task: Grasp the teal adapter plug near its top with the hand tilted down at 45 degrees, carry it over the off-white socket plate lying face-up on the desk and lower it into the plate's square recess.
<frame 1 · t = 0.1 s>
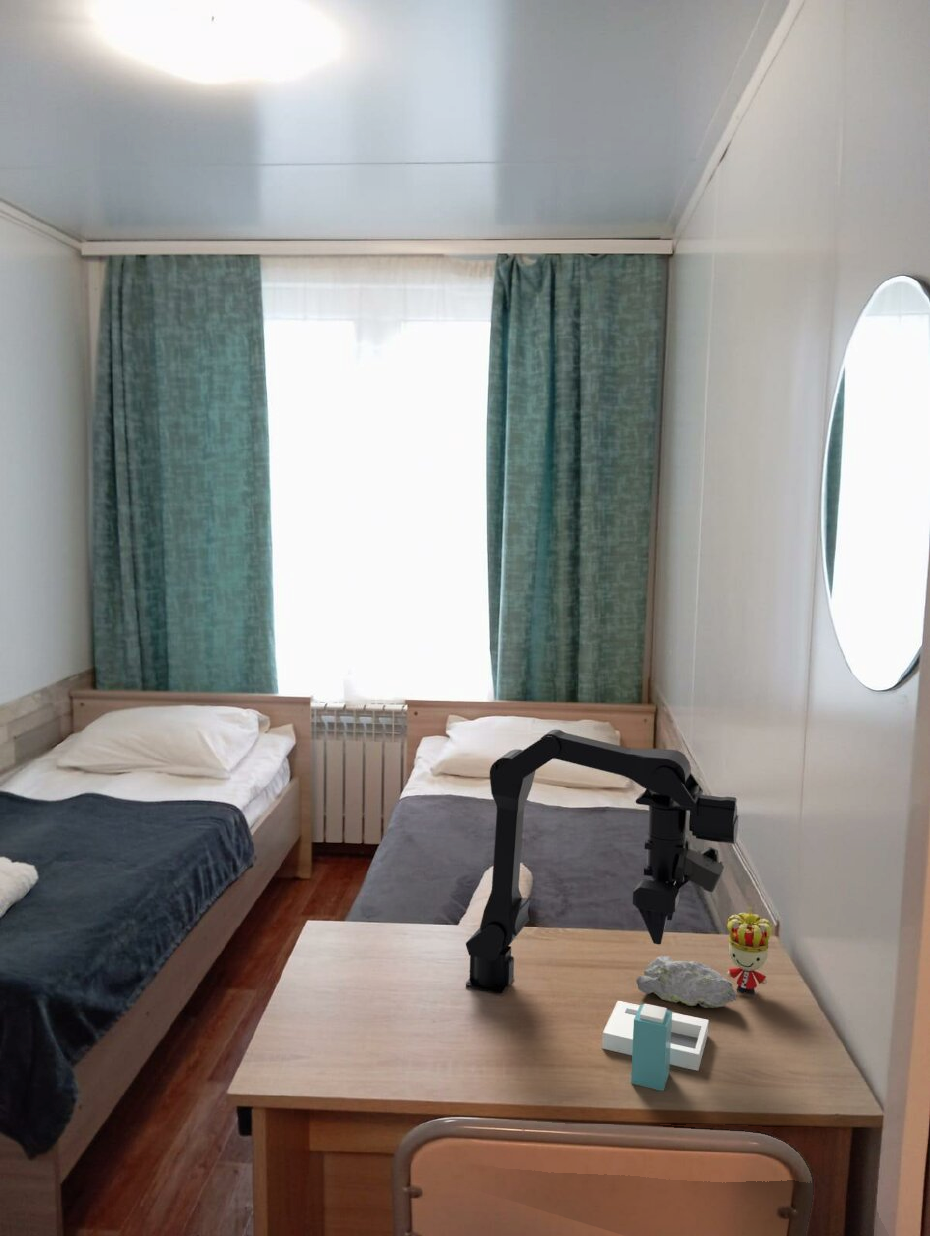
hand: (662, 931, 148), 15 cm above the table, tool pointing down, fingers open, 9 cm apart
socket plate: (655, 1041, 143), on the table
toy: (745, 992, 159), on the table
rock: (684, 1001, 156), on the table
plug: (650, 1078, 134), on the table
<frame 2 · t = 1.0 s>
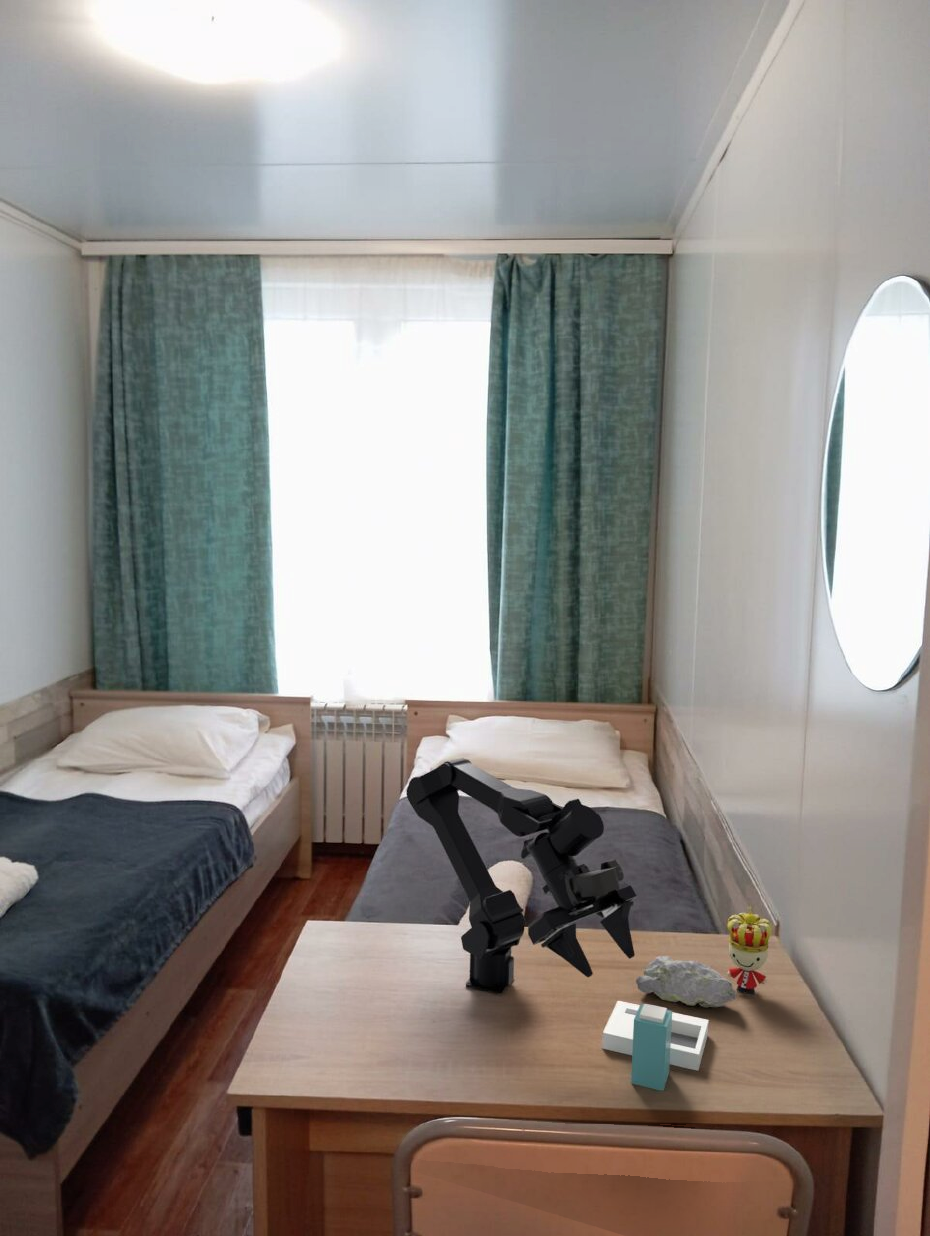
hand: (611, 966, 139), 13 cm above the table, tool tilted 45°, fingers open, 9 cm apart
nothing on the table moved.
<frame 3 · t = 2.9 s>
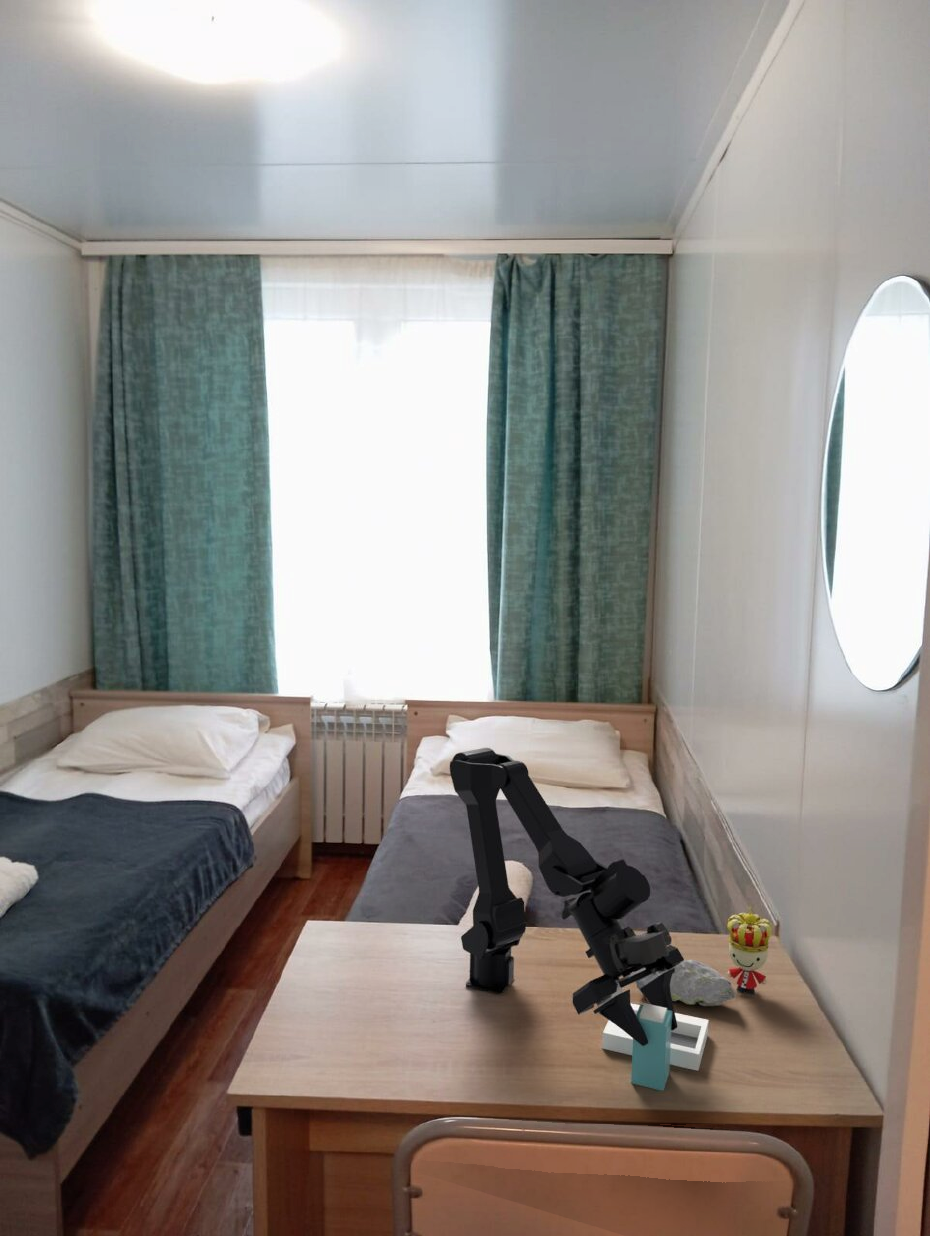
hand: (660, 1036, 132), 7 cm above the table, tool tilted 45°, fingers closed on plug, 6 cm apart
plug: (650, 1078, 134), on the table, touching gripper
everything else where it was.
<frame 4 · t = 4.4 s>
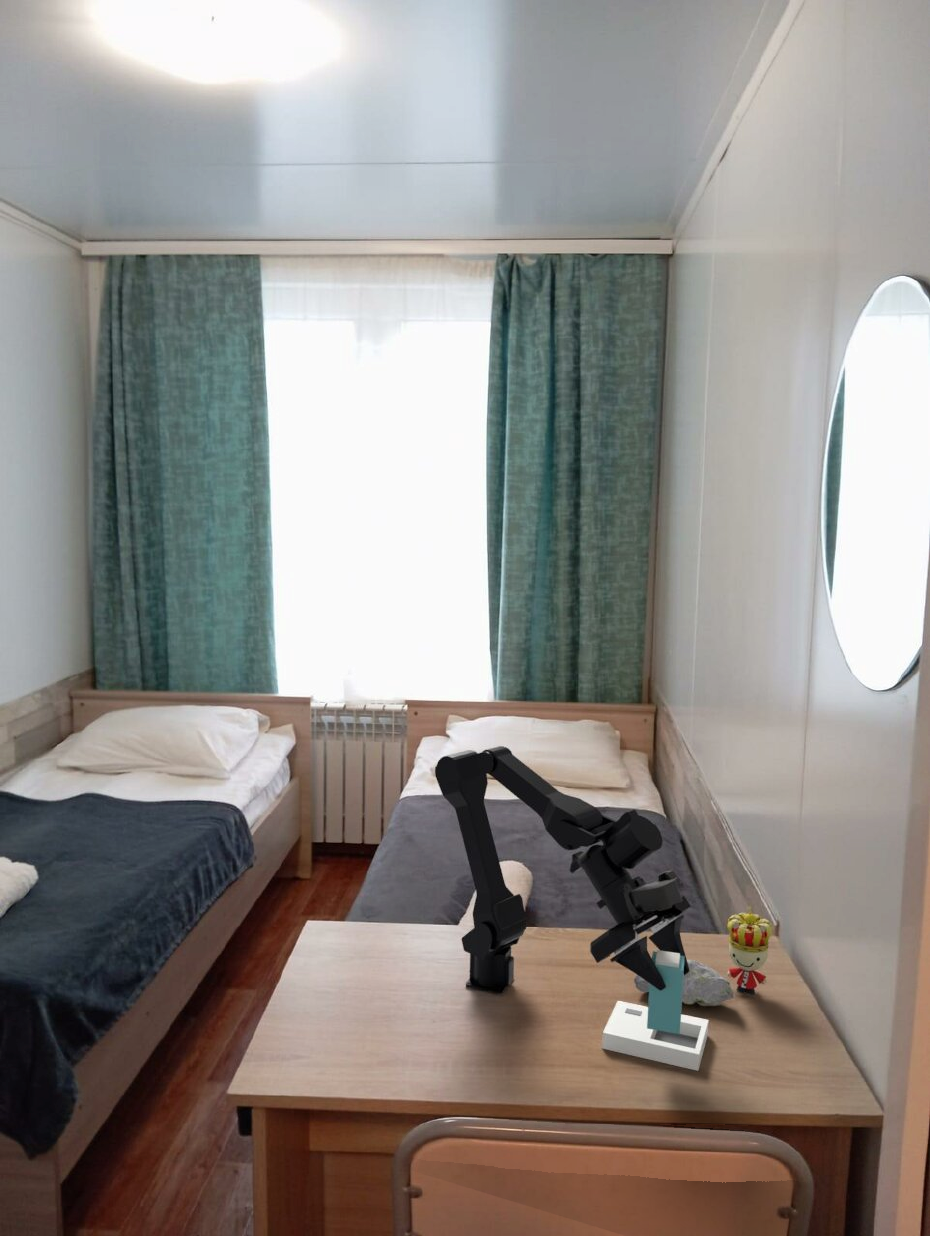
hand: (675, 981, 135), 13 cm above the table, tool tilted 45°, fingers closed on plug, 6 cm apart
plug: (664, 1022, 136), point 7 cm above the table, touching gripper
everything else where it was.
when the fingers open (8 cm above the table, at t = 6.2 s): plug stays where it is, resting on socket plate.
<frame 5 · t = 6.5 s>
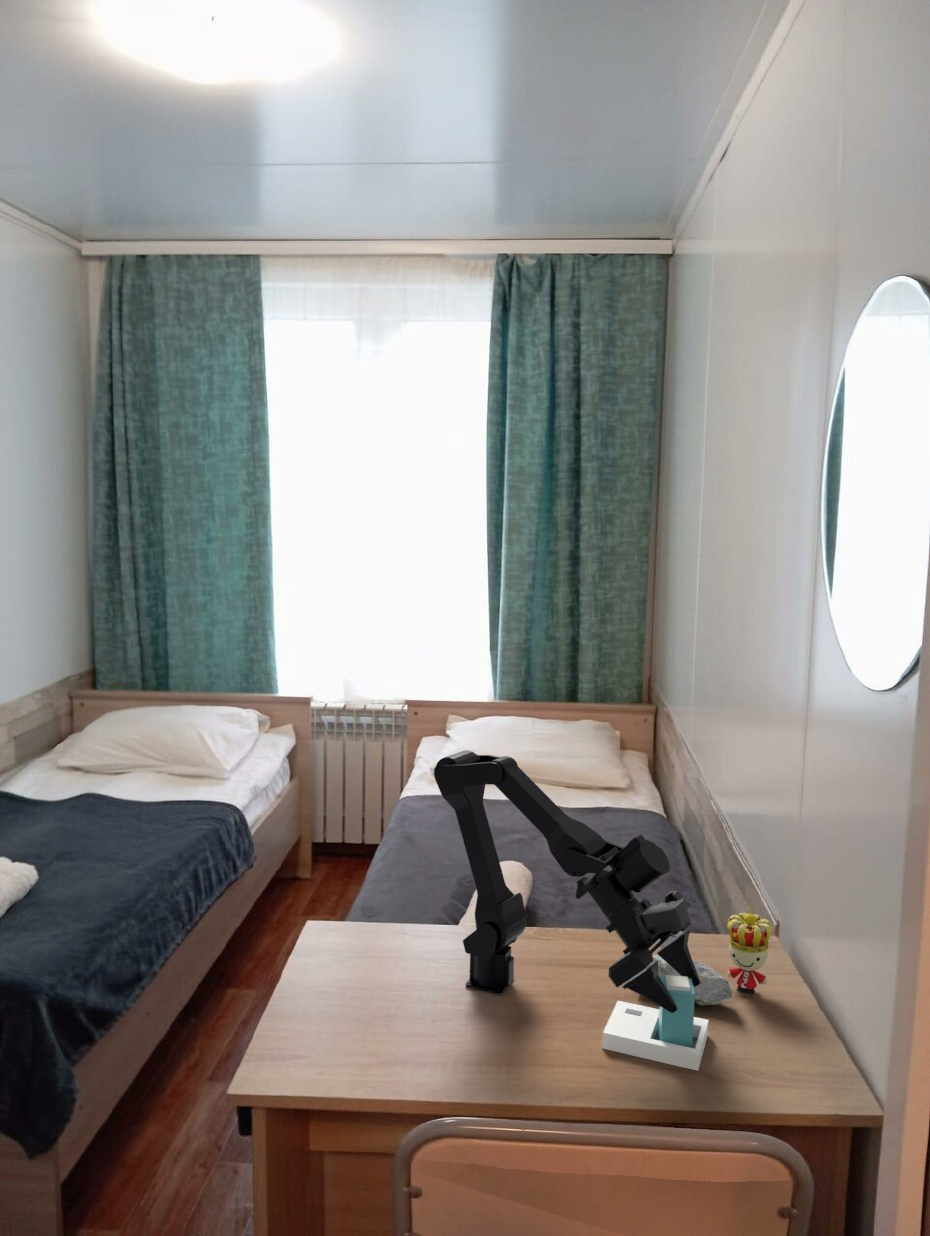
hand: (687, 997, 140), 8 cm above the table, tool tilted 45°, fingers open, 9 cm apart
plug: (674, 1044, 142), point 1 cm above the table, touching socket plate
everything else where it was.
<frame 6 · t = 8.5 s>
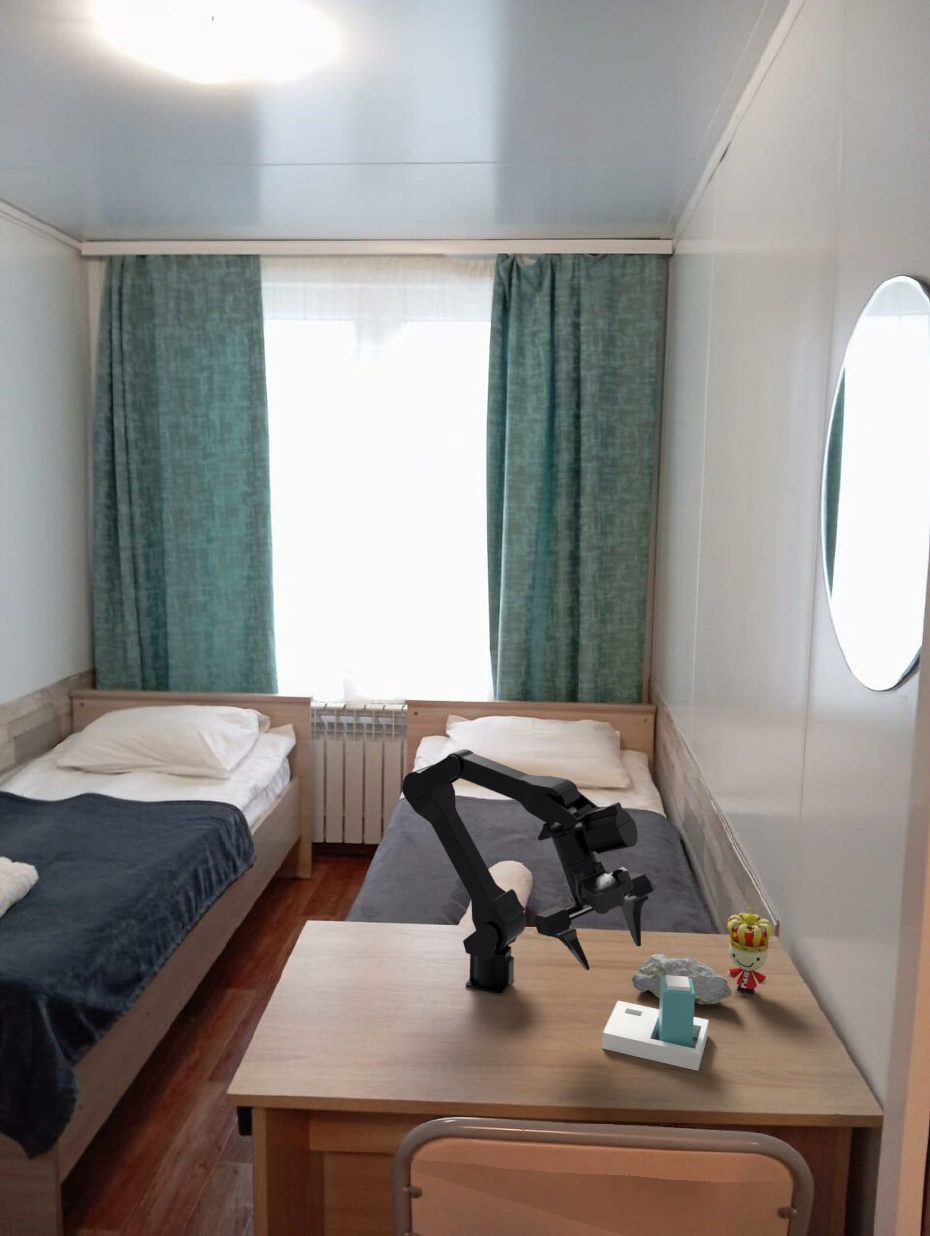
hand: (613, 957, 147), 11 cm above the table, tool tilted 25°, fingers open, 9 cm apart
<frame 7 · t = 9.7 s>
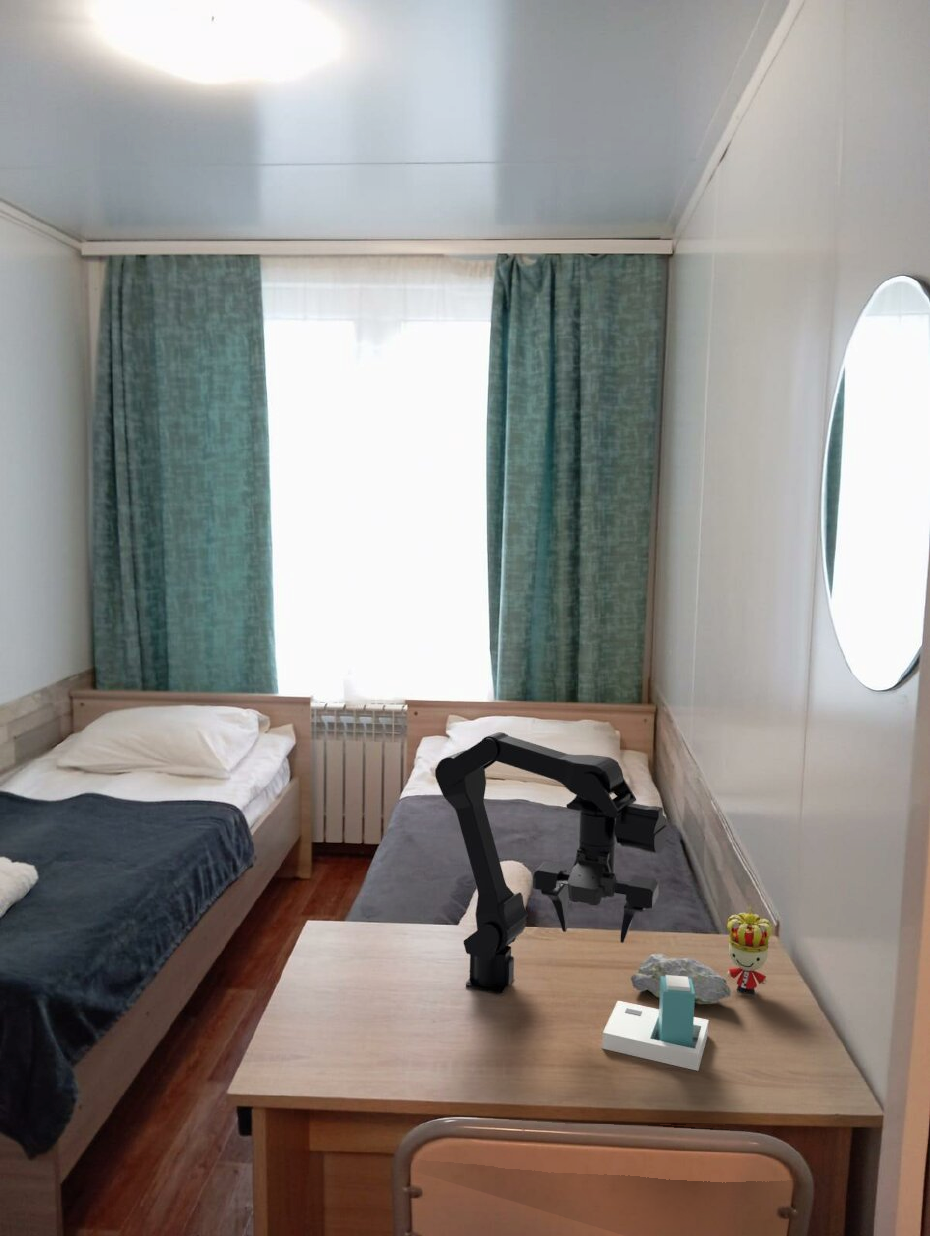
hand: (593, 936, 149), 13 cm above the table, tool pointing down, fingers open, 9 cm apart
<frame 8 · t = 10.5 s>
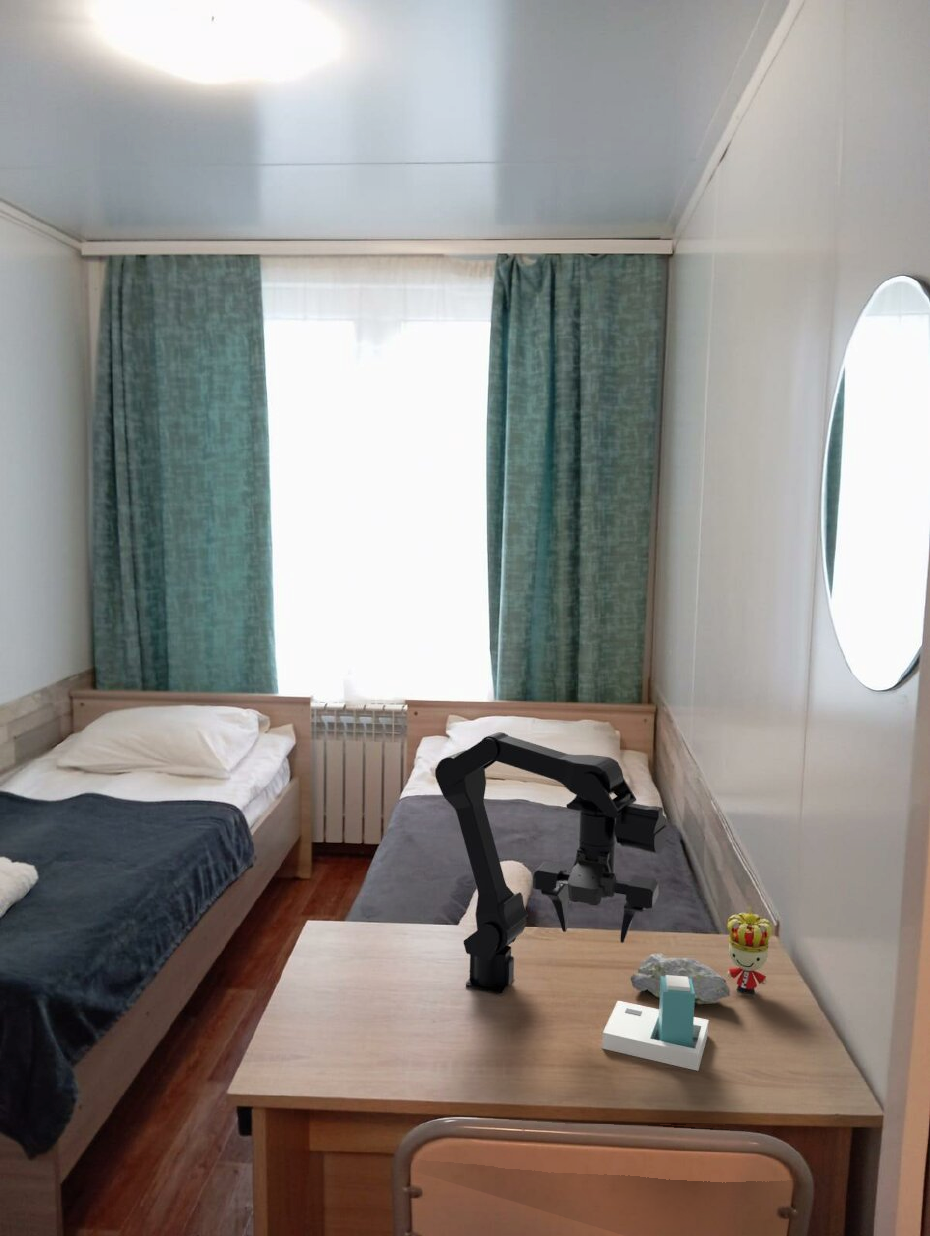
hand: (593, 936, 149), 13 cm above the table, tool pointing down, fingers open, 9 cm apart
at the end: plug 0.1 cm from the target spot on the socket plate, point 0.6 cm above the socket plate's base; plug tilted 0°; the gripper is holding nothing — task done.
